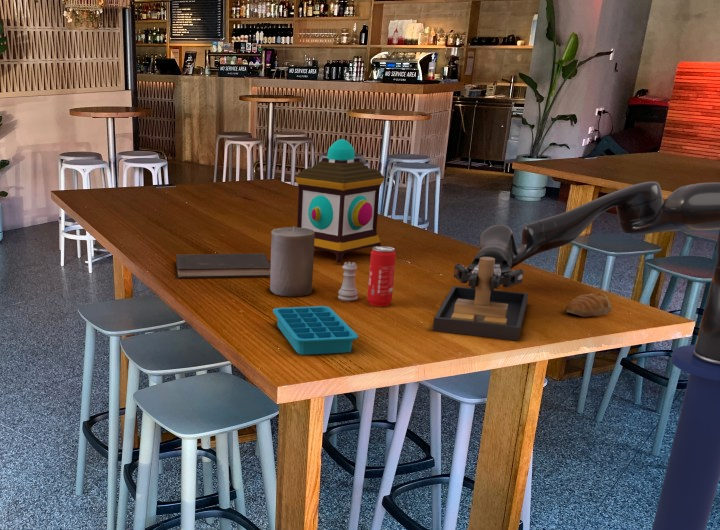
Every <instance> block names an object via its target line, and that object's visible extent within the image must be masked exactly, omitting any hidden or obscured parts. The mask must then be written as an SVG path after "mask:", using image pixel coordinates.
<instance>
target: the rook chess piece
mask: <svg viewBox="0 0 720 530" xmlns="http://www.w3.org/2000/svg"><path fill="white" fill-rule="evenodd" d="M341 268H342V270H343V273H342V275H343V280H342V284H341V286H340V289H339V290H338V292H337V293H338V295H337V298H338V300H339V301H342V302H355V301H357V300H358V299H359V296H358V295H359V291H358V290H357V287H356V276H357V274H356V271H357V270H358V266H357V263H356V262H351V261H348V262H347V261H345V262H344V263H343V265H342V267H341Z"/></svg>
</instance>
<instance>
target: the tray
mask: <svg viewBox="0 0 720 530" xmlns="http://www.w3.org/2000/svg"><path fill="white" fill-rule="evenodd" d="M475 292H476V288H475V289H471V287H468V286H467V287H466V286H457V285H453V286H452V287H451V289H450V291H449V292H448V294H447V295H446V297H445V298H444V300H443V302H442V304H441V305H440V307H439V309H438V311H437V312H436V314H435V316H434V317H433V325H432V331H434V332H443V333H450V334H458V335H466V336H467V335H468V336H475V337H483V338H491V339H499V340H508V341H514V342H519V339H520V334H521V330H522V327H523V322H524V318H525V314H526V310H527V306H528V300H529V293H528V292H526V293H525V292H517V291H516V292H515V291H507V290H498V289H494V291H491V294H490V302H495V303H504V304H508V310H507V314H506V318H507V323H506V325H502V324H493V323H485V322H476V321H467V320H459V319H451V317H452V315H453V313H454V307H455V303H456V301H457V299H466V300H475Z"/></svg>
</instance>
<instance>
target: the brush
mask: <svg viewBox="0 0 720 530" xmlns="http://www.w3.org/2000/svg"><path fill="white" fill-rule="evenodd" d="M494 265H495V258H492V257H481V258H480V261H479V269H478V277H477V285H476V292H475V300H466V299H457V301H456V303H455V307H454V313H463V314H472V315H475V317H474V321H476V322H484V319H485V316H490V317H499V318H506V314H507V310H508V304H504V303H495V302H490V294H491V291H490V285H491V279H492V277H493V272H494Z"/></svg>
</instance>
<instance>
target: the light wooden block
mask: <svg viewBox="0 0 720 530" xmlns="http://www.w3.org/2000/svg"><path fill="white" fill-rule="evenodd" d="M474 317H475V315H472V314H463V313H453V315H452V317H451V319H459V320H467V321H474Z"/></svg>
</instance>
